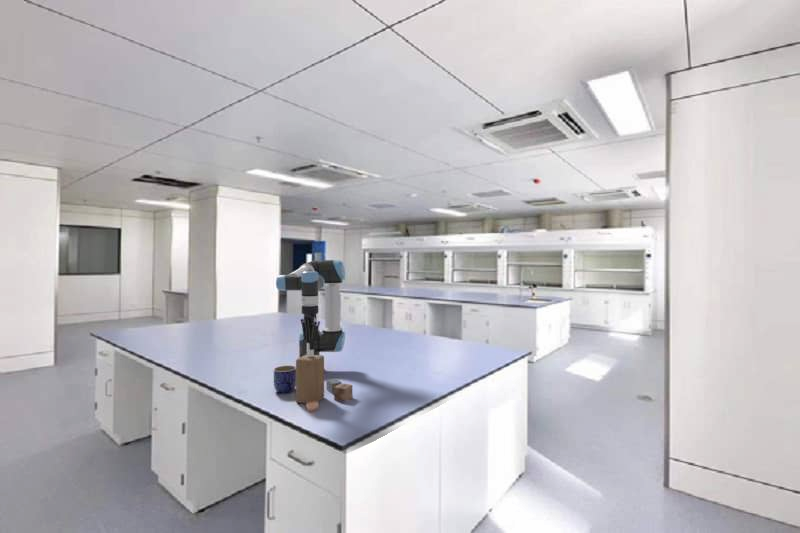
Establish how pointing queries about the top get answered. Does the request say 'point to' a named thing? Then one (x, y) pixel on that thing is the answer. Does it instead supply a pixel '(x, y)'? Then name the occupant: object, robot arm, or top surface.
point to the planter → (285, 379)
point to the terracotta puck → (312, 406)
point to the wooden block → (309, 378)
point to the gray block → (332, 385)
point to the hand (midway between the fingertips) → (310, 356)
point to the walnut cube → (343, 392)
